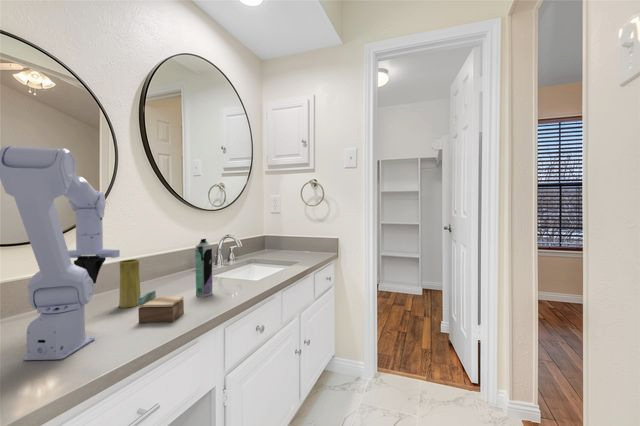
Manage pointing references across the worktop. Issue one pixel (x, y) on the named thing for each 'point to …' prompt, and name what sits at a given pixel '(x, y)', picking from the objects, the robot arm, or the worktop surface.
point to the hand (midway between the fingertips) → (90, 284)
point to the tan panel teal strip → (157, 300)
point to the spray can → (203, 269)
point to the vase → (129, 283)
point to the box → (161, 313)
